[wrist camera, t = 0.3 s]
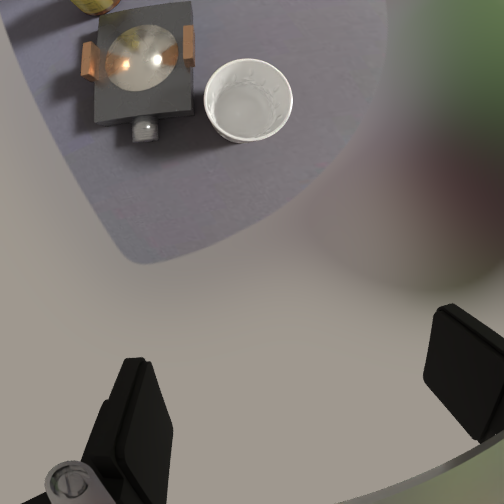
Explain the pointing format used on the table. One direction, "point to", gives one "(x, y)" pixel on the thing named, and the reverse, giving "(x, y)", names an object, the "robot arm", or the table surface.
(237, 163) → the table surface
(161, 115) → the block
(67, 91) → the table surface
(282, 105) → the white cup
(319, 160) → the table surface
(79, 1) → the sauce bottle
